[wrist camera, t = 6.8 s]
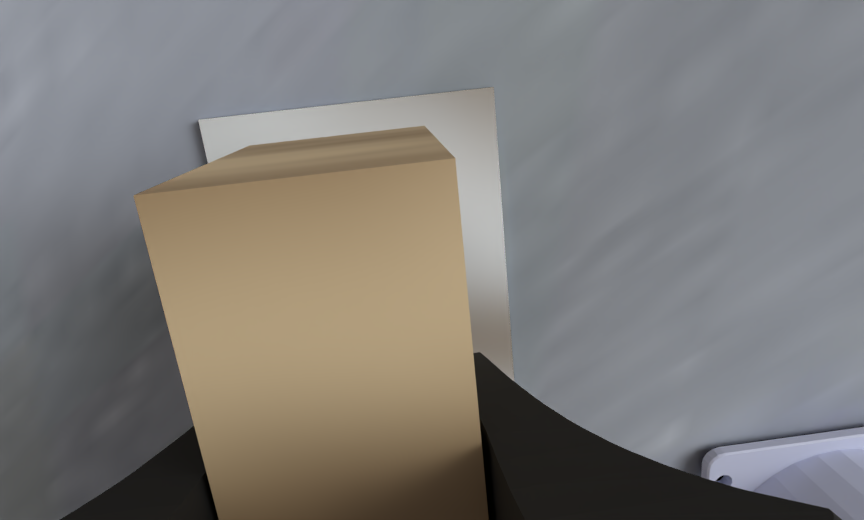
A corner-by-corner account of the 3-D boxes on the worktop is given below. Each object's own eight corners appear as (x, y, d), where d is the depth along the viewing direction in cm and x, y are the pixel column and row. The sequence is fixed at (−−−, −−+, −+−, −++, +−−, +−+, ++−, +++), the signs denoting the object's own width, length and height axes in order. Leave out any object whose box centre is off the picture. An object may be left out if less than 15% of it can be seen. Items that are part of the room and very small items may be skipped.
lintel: (470, 558, 14) (516, 816, 9) (334, 577, 13) (305, 850, 9) (424, 125, 11) (455, 157, 6) (249, 144, 10) (132, 195, 6)
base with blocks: (519, 469, 17) (542, 536, 15) (284, 501, 17) (265, 576, 14) (491, 87, 14) (516, 87, 11) (200, 119, 14) (157, 126, 11)
